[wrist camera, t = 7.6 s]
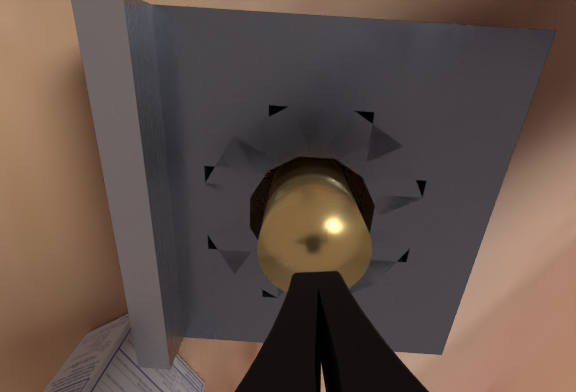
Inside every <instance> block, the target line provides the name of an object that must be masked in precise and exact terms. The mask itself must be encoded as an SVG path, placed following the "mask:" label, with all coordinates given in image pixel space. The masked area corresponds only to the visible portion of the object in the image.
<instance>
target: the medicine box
mask: <svg viewBox="0 0 576 392" xmlns="http://www.w3.org/2000/svg"><path fill="white" fill-rule="evenodd" d="M204 386H205V384H204V382H203V381H202V380H201V379H200V378H199V377H198V376H197V375H196V374H195V373H194V372H193V371H192V370H191V368H190V367H189V366H188V365H187V364H186V363H185V362H184V361H183V360H182V359H181V358H180V357H179V356H178V355H176V357H175V359H174V362H173V364H172V367H171V369H156V368H142V367H138V363H137V357H136V352H135V346H134V341H133V335H132V330H131V324H130V319H129V314H126V315H124V316H122V317H120V318H118V319H116V320H114V321H112V322H110V323H107V324H105V325H103V326H101V327H99V328H97V329H95V330H93V331H90V332H88V333H87V334H86V335H85V336H84V338H83V339H82V340H81V342H80V343H79V344H78V345H77V347H76V348H75V350H74V351H73V352H72V353H71V355H70V356H69V357H68V359H67V360H66V361H65V363H64V364H63V365H62V367H61V368H60V369H59V370H58V372H57V373H56V374H55V376H54V377H53V378H52V380H51V381H50V382H49V383H48V385H47V386H46V387H45V389H44V390H43V391H42V392H203V390H204Z"/></svg>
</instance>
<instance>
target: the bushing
mask: <svg viewBox="0 0 576 392" xmlns="http://www.w3.org/2000/svg"><path fill="white" fill-rule="evenodd" d="M257 256H258V261H259V264H260V267H261V269H262V271H263V273H264V274H265V275H266V277H267V278H268V279H269V280H270V281H271V283H273V284H274V285H275V286H276V287H278V288H279V289H281V290H282V291H284V292H286V293H287V292H288V289H289V285H290V282H291V277H292V275H293V274H294V273H298V272H323V271H338V272H339V273H340V274H341V275H342V277H343V279H344V281H345V283H346V285H347V287H348V288H350V287H352V286H353V285H354V284H355V283H356V282H358V281H359V280H360V278H361V277H362V276H363V275H364V273H365V272H366V270H367V268H368V266H369V264H370V260H371V256H372V242H371V237H370V234H369V232H368V229H367V227H366V225H365V222H364V220H363V218H362V215H361V213H360V211H359V208H358V206H357V204H356V201H355V199H354V197H353V195H352V192H351V190H350V188H349V185H348V183H347V181H346V178H345V176H344V174H343V172H342V170H341V169H340V167H339V166H338V165H337V164H336V163H335V162H334V161H332V160H331V159H329V158H317V157H302V156H299V157H297V158H295V159H292V160H290V161H288V162H286V163H284V164H282V165H280V166H279V167H278V169H277V170H276V172H275V174H274V176H273V178H272V182H271V186H270V191H269V195H268V200H267V204H266V208H265V213H264V217H263V222H262V226H261V230H260V235H259V239H258V245H257Z"/></svg>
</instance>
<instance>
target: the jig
mask: <svg viewBox="0 0 576 392" xmlns="http://www.w3.org/2000/svg"><path fill="white" fill-rule="evenodd" d="M71 3H72V8H73V14H74V19H75V24H76V30H77V35H78V41H79V46H80V52H81V57H82V63H83V68H84V74H85V79H86V84H87V90H88V95H89V101H90V106H91V112H92V117H93V123H94V128H95V134H96V139H97V144H98V150H99V155H100V161H101V166H102V172H103V177H104V183H105V188H106V194H107V199H108V204H109V210H110V215H111V221H112V226H113V232H114V237H115V243H116V248H117V254H118V259H119V264H120V270H121V275H122V281H123V286H124V292H125V297H126V303H127V308H128V314H129V319H130V324H131V330H132V335H133V341H134V346H135V352H136V357H137V363H138V367H142V368H156V369H171V367H172V364H173V362H174V359H175V357H176V355H177V352H178V350H179V348H180V345H181V343H182V341H183V338H184V337H191V338H205V339H220V340H234V341H249V342H263V343H264V342H265V340H266V338H267V336H268V335H269V333H270V331H271V329H272V327H273V325H274V322H275V320H276V318H277V316H278V314H279V311H280V309H281V307H282V305H283V302H284V300H285V297H286V294H287V293H286V292H284V291H282V290H281V289H279V288H278V287H276V286H275V285H274V284H273V283H271V281H270V280H269V279H268V278H267V277H266V275H265V274H264V273H263V271H262V269H261V267H260V264H259V261H258V256H257V245H258V239H259V235H260V230H261V226H262V222H263V215H262V214H261V212H260V210H259V209H258V207H257V205H256V200H257V187H258V185H259V184H260V182H261V181H262V179H263V178H264V176H265V175H266V173H267V172H268V171H269V170H271V169H273V168H276V167H278V166H280V165H282V164H284V163H286V162H288V161H290V160H292V159H295V158H297V157H299V156H302V157H317V158H332V159H336V160H337V161H339V162H340V163H342V164H343V165H345V166H346V167H348V168H349V169H351V170H352V171H354V172H355V173H357V174H358V175H359V176H360V178H361V180H362V183H363V185H364V189H363V195H362V201H361V207H360V213H361V215H362V218H363V220H364V222H365V225H366V227H367V229H368V232H369V234H370V237H371V242H372V256H371V260H370V264H369V266H368V268H367V270H366V272H365V273H364V275H363V276H362V277H361V278H360V280H359V281H358V282H356V283H355V284H354V285H353V286H352V287H350V288H349V290H350V292H351V293H352V295H353V297H354V298H355V300H356V301H357V303H358V304H359V306H360V307H361V309H362V310H363V312H364V313H365V315H366V316H367V317H368V319H369V320H370V322H371V323H372V324H373V326H374V327H375V329H376V330H377V331H378V333H379V334H380V335H381V336H382V338H383V339H384V340H385V342H386V343H387V344H388V345H389V347H390V348H391V349H392V350H393V352H408V353H422V354H437V355H442V353H443V350H444V347H445V344H446V341H447V338H448V335H449V333H450V330H451V327H452V324H453V321H454V318H455V316H456V313H457V310H458V307H459V304H460V301H461V299H462V296H463V293H464V290H465V287H466V284H467V282H468V279H469V276H470V273H471V270H472V267H473V265H474V262H475V259H476V256H477V253H478V250H479V248H480V245H481V242H482V239H483V236H484V233H485V231H486V228H487V225H488V222H489V219H490V216H491V214H492V211H493V208H494V205H495V202H496V199H497V197H498V194H499V191H500V188H501V185H502V182H503V180H504V177H505V174H506V171H507V168H508V165H509V163H510V160H511V157H512V154H513V151H514V148H515V146H516V143H517V140H518V137H519V134H520V131H521V128H522V126H523V123H524V120H525V117H526V114H527V111H528V109H529V106H530V103H531V100H532V97H533V94H534V92H535V89H536V86H537V83H538V80H539V77H540V75H541V72H542V69H543V66H544V63H545V60H546V58H547V55H548V52H549V49H550V46H551V43H552V41H553V38H554V35H555V32H556V31H555V30H540V29H524V28H509V27H493V26H478V25H462V24H446V23H431V22H415V21H400V20H384V19H369V18H353V17H337V16H322V15H306V14H291V13H275V12H260V11H244V10H229V9H213V8H197V7H182V6H166V5H152V4H149V3H147V2H145V1H142V0H71ZM273 105H274V106H279V107H277V108H275V109H273ZM356 111H362V112H361V115H360V114H359V113H357V112H356Z"/></svg>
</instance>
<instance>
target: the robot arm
mask: <svg viewBox="0 0 576 392" xmlns="http://www.w3.org/2000/svg"><path fill="white" fill-rule="evenodd" d="M321 364H322V370H323V376H324V382H325V388H326V392H429V391H428V390H427V389H426V388H425V387H424V386H423V385H422V384H421V383H420V381H419V380H418V379H417V378H416V377H415V376H414V375H413V374H412V373H411V372H410V370H409V369H408V368H407V367H406V366H405V365H404V363H403V362H402V361H401V360H400V359H399V358H398V356H397V355H396V354H395V353H394V352H393V350H392V349H391V348H390V347H389V345H388V344H387V343H386V342H385V340H384V339H383V338H382V336H381V335H380V334H379V333H378V331H377V330H376V329H375V327H374V326H373V324H372V323H371V322H370V320H369V319H368V317H367V316H366V315H365V313H364V312H363V310H362V309H361V307H360V306H359V304H358V303H357V301H356V300H355V298H354V297H353V295H352V293H351V292H350V290H349V288H348V287H347V285H346V283H345V281H344V279H343V277H342V275H341V274H340V273H339V272H338V271H323V272H298V273H294V274H293V275H292V277H291V282H290V285H289V289H288V292H287V294H286V297H285V300H284V302H283V305H282V307H281V309H280V311H279V314H278V316H277V318H276V320H275V322H274V325H273V327H272V329H271V331H270V333H269V335H268V336H267V338H266V340H265V342H264V344H263V346H262V347H261V349H260V351H259V353H258V355H257V357H256V358H255V360H254V362H253V363H252V365H251V367H250V368H249V370H248V372H247V373H246V375H245V376H244V378H243V380H242V381H241V383H240V384H239V386H238V387H237V389H236V390H235V392H321Z"/></svg>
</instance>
